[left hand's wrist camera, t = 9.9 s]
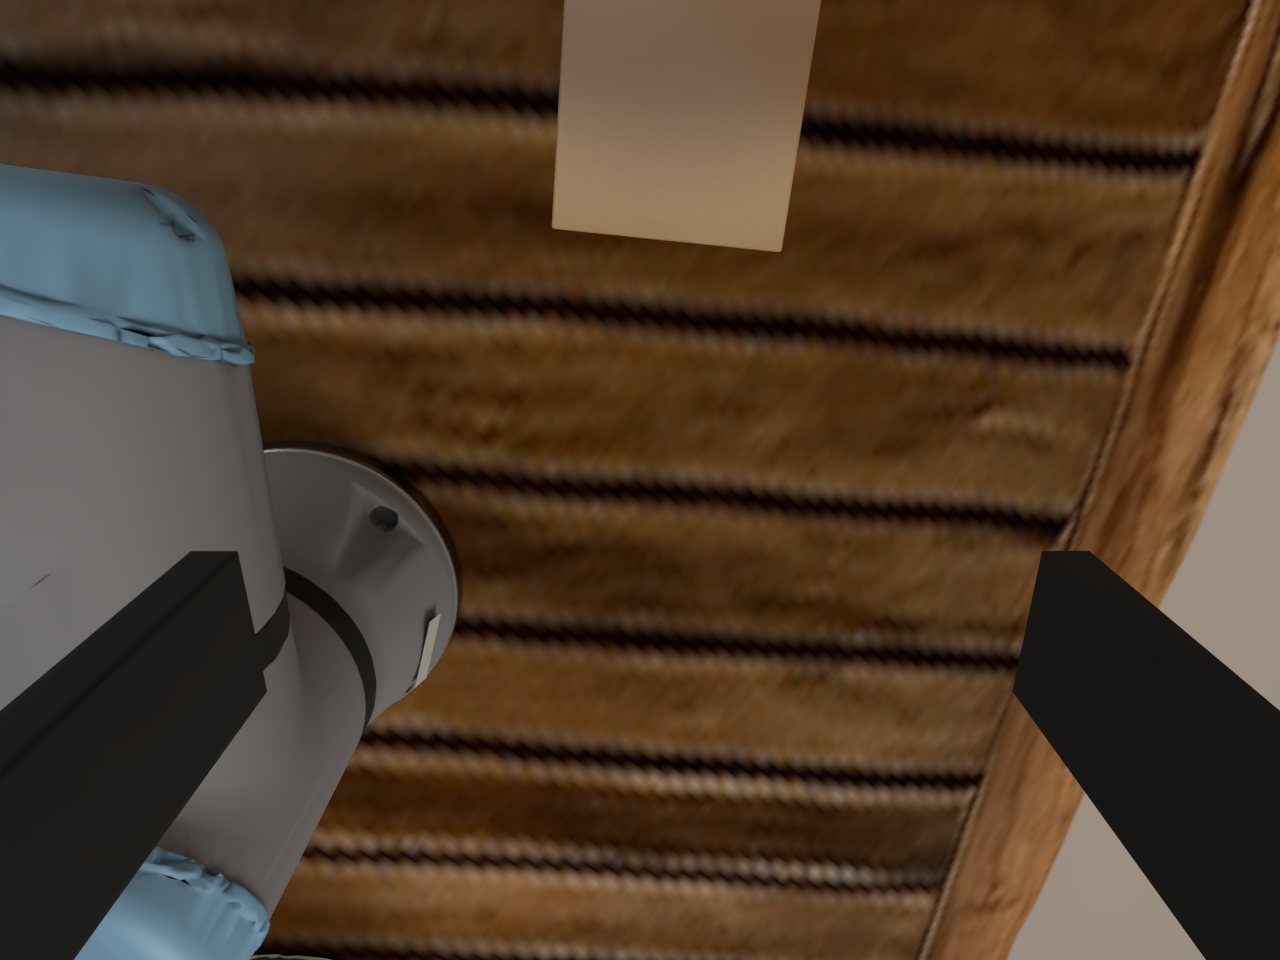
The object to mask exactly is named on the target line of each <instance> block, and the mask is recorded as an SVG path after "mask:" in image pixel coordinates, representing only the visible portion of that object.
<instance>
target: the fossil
mask: <svg viewBox="0 0 1280 960" xmlns="http://www.w3.org/2000/svg"><path fill="white" fill-rule="evenodd" d="M250 960H331V959H326V958H320V957H307V956H283V955H278V954H273V955H253V956H252V957H251V958H250Z"/></svg>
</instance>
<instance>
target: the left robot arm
mask: <svg viewBox="0 0 1280 960" xmlns="http://www.w3.org/2000/svg"><path fill="white" fill-rule="evenodd" d="M254 355H255V351H254V346H253V345H251V344H250V343H249V342H248V341H247V340H246V339H245V335H244V331H243V326H242V322H241V317H240V313H239V309H238V304H237V300H236V295H235V291H234V286H233V282H232V278H231V273H230V269H229V264H228V260H227V255H226V251H225V248H224V245H223V243H222V240H221V238H220V236H219V234H218V232H217V230H216V229H215V227H214V226H213V224H212V223H211V222H210V220H209V219H208V218H207V217H206V216H205V215H204V214H203V213H202V212H201V211H200V210H199V209H198V208H197V207H195V206H194V205H193V204H192V203H190V202H189V201H187V200H186V199H184V198H183V197H181V196H179V195H177V194H175V193H173V192H170V191H168V190H165V189H162V188H160V187H156V186H152V185H147V184H142V183H136V182H130V181H123V180H116V179H109V178H102V177H95V176H87V175H80V174H73V173H65V172H58V171H51V170H43V169H35V168H28V167H20V166H13V165H5V164H0V960H250V958H251V957H252V955H253V953H254V952H255V951H256V950H257V949H258V948H259V947H260V946H261V944H262V942H263V940H264V939H265V937H266V935H267V933H268V932H269V927H270V925H271V924H270V921H269V920H270V918H271V916H272V914H273V912H274V910H275V908H276V906H277V904H278V902H279V900H280V898H281V896H282V894H283V892H284V890H285V888H286V886H287V884H288V882H289V880H290V878H291V876H292V874H293V872H294V870H295V868H296V866H297V864H298V862H299V860H300V858H301V856H302V854H303V852H304V850H305V848H306V846H307V844H308V842H309V840H310V838H311V836H312V834H313V832H314V830H315V828H316V826H317V824H318V822H319V820H320V818H321V816H322V814H323V812H324V810H325V808H326V806H327V804H328V802H329V800H330V798H331V796H332V794H333V792H334V790H335V788H336V786H337V784H338V782H339V781H340V779H341V777H342V775H343V773H344V771H345V769H346V767H347V765H348V763H349V761H350V759H351V757H352V755H353V753H354V751H355V749H356V747H357V744H358V742H359V740H360V738H361V736H362V734H363V732H364V730H365V729H366V726H367V725H368V724H370V723H371V722H372V721H373V720H374V719H375V718H376V717H378V716H379V715H380V714H381V713H382V712H383V711H384V710H385V709H387V708H388V707H389V706H390V705H392V704H393V703H395V702H397V701H398V700H400V699H401V698H403V697H404V696H405V695H407V694H408V693H409V692H411V691H412V690H413V689H414V688H415V687H417V686H418V685H419V684H420V683H421V682H422V681H423V680H424V679H425V678H426V677H427V675H428V674H429V672H430V671H431V670H432V669H433V667H434V666H435V664H436V663H437V662H438V660H439V659H440V657H441V656H442V654H443V653H444V651H445V649H446V647H447V645H448V643H449V640H450V638H451V636H452V633H453V631H454V629H455V626H456V623H457V620H458V617H459V613H460V608H461V601H462V576H461V569H460V564H459V560H458V556H457V553H456V550H455V547H454V544H453V542H452V540H451V538H450V535H449V533H448V531H447V530H446V528H445V526H444V524H443V523H442V521H441V519H440V518H439V516H438V515H437V514H436V512H435V511H434V510H433V508H432V507H431V506H430V505H429V503H428V502H427V501H426V500H425V499H424V498H423V497H422V496H421V495H420V494H419V493H418V492H417V491H416V490H415V489H414V488H413V487H412V486H411V485H410V484H408V483H407V482H406V481H405V480H403V479H402V478H401V477H400V476H398V475H397V474H395V473H394V472H392V471H391V470H389V469H388V468H386V467H384V466H383V465H381V464H379V463H377V462H375V461H374V460H371V459H369V458H367V457H365V456H362V455H360V454H358V453H355V452H352V451H349V450H346V449H343V448H339V447H335V446H331V445H326V444H320V443H312V442H280V443H271V444H266V445H263V444H262V438H261V431H260V425H259V419H258V413H257V407H256V401H255V395H254V389H253V382H252V375H251V368H250V363H255V362H254ZM1013 693H1014V694H1015V695H1016V697H1017V698H1018V700H1019V701H1020V702H1021V704H1022V705H1023V707H1024V708H1025V709H1026V711H1027V712H1028V714H1029V715H1030V716H1031V718H1032V719H1033V720H1034V722H1035V723H1036V725H1037V726H1038V727H1039V729H1040V730H1041V732H1042V733H1043V734H1044V736H1045V737H1046V738H1047V740H1048V741H1049V743H1050V744H1051V745H1052V747H1053V748H1054V750H1055V751H1056V752H1057V754H1058V755H1059V757H1060V758H1061V759H1062V761H1063V762H1064V763H1065V765H1066V766H1067V768H1068V769H1069V770H1070V772H1071V773H1072V775H1073V776H1074V777H1075V779H1076V780H1077V781H1078V783H1079V784H1080V786H1081V787H1082V788H1083V790H1084V791H1085V793H1086V794H1087V795H1088V797H1089V798H1090V800H1091V801H1092V802H1093V804H1094V805H1095V806H1096V808H1097V809H1098V811H1099V812H1100V813H1101V815H1102V816H1103V818H1104V819H1105V820H1106V822H1107V823H1108V824H1109V826H1110V827H1111V829H1112V830H1113V831H1114V833H1115V834H1116V836H1117V837H1118V838H1119V840H1120V841H1121V843H1122V844H1123V845H1124V847H1125V848H1126V849H1127V851H1128V852H1129V854H1130V855H1131V856H1132V858H1133V859H1134V861H1135V862H1136V863H1137V865H1138V866H1139V867H1140V869H1141V870H1142V872H1143V873H1144V874H1145V876H1146V877H1147V878H1148V880H1149V881H1150V883H1151V884H1152V885H1153V887H1154V888H1155V890H1156V891H1157V892H1158V894H1159V895H1160V897H1161V898H1162V899H1163V901H1164V902H1165V904H1166V905H1167V906H1168V908H1169V909H1170V910H1171V912H1172V913H1173V915H1174V916H1175V917H1176V919H1177V920H1178V922H1179V923H1180V924H1181V926H1182V927H1183V929H1184V930H1185V931H1186V933H1187V934H1188V935H1189V937H1190V938H1191V940H1192V941H1193V942H1194V944H1195V945H1196V947H1197V948H1198V949H1199V951H1200V952H1201V953H1202V955H1203V956H1204V958H1205V959H1206V960H1280V711H1279V710H1278V709H1277V708H1276V707H1275V706H1273V705H1272V704H1271V703H1270V702H1269V701H1267V700H1266V699H1265V698H1264V697H1263V696H1261V695H1260V694H1259V693H1258V692H1257V691H1256V690H1254V689H1253V688H1252V687H1251V686H1250V685H1248V684H1247V683H1246V682H1245V681H1244V680H1242V679H1241V678H1240V677H1239V676H1238V675H1236V674H1235V673H1234V672H1233V671H1232V670H1230V669H1229V668H1228V667H1227V666H1226V665H1225V664H1223V663H1222V662H1221V661H1220V660H1218V659H1217V658H1216V657H1215V656H1214V655H1213V654H1211V653H1210V652H1209V651H1208V650H1207V649H1205V648H1204V647H1203V646H1202V645H1201V644H1199V643H1198V642H1197V641H1196V640H1195V639H1193V638H1192V637H1191V636H1190V635H1189V634H1188V633H1186V632H1185V631H1184V630H1183V629H1182V628H1180V627H1179V626H1178V625H1177V624H1176V623H1174V622H1173V621H1172V620H1171V619H1170V618H1168V617H1167V616H1166V615H1165V614H1164V613H1162V612H1161V611H1160V610H1159V609H1158V608H1156V607H1155V606H1154V605H1153V604H1152V603H1151V602H1149V601H1148V600H1147V599H1146V598H1145V597H1143V596H1142V595H1141V594H1140V593H1139V592H1137V591H1136V590H1135V589H1134V588H1133V587H1131V586H1130V585H1129V584H1128V583H1127V582H1125V581H1124V580H1123V579H1122V578H1121V577H1120V576H1118V575H1117V574H1116V573H1115V572H1114V571H1112V570H1111V569H1110V568H1109V567H1108V566H1106V565H1105V564H1104V563H1103V562H1102V561H1100V560H1099V559H1098V558H1097V557H1096V556H1094V555H1093V554H1092V553H1091V552H1090V551H1042V554H1041V559H1040V564H1039V569H1038V573H1037V578H1036V583H1035V588H1034V592H1033V597H1032V602H1031V607H1030V611H1029V616H1028V621H1027V626H1026V630H1025V635H1024V640H1023V645H1022V650H1021V654H1020V659H1019V664H1018V669H1017V673H1016V678H1015V683H1014V688H1013Z"/></svg>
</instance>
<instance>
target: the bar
mask: <svg viewBox="0 0 1280 960" xmlns="http://www.w3.org/2000/svg"><path fill="white" fill-rule="evenodd" d="M820 5H821V0H564V12H563V30H562V49H561V67H560V85H559V104H558V122H557V140H556V159H555V177H554V195H553V214H552V228H554V229H561V230H571V231H581V232H590V233H600V234H610V235H619V236H629V237H639V238H648V239H658V240H668V241H677V242H687V243H697V244H706V245H716V246H726V247H735V248H745V249H755V250H764V251H774V252H780V251H781V250H782V244H783V238H784V232H785V225H786V219H787V213H788V206H789V200H790V194H791V188H792V181H793V175H794V169H795V162H796V156H797V150H798V144H799V137H800V131H801V125H802V118H803V112H804V106H805V100H806V93H807V87H808V81H809V74H810V68H811V62H812V56H813V49H814V43H815V37H816V30H817V24H818V18H819V11H820Z"/></svg>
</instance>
